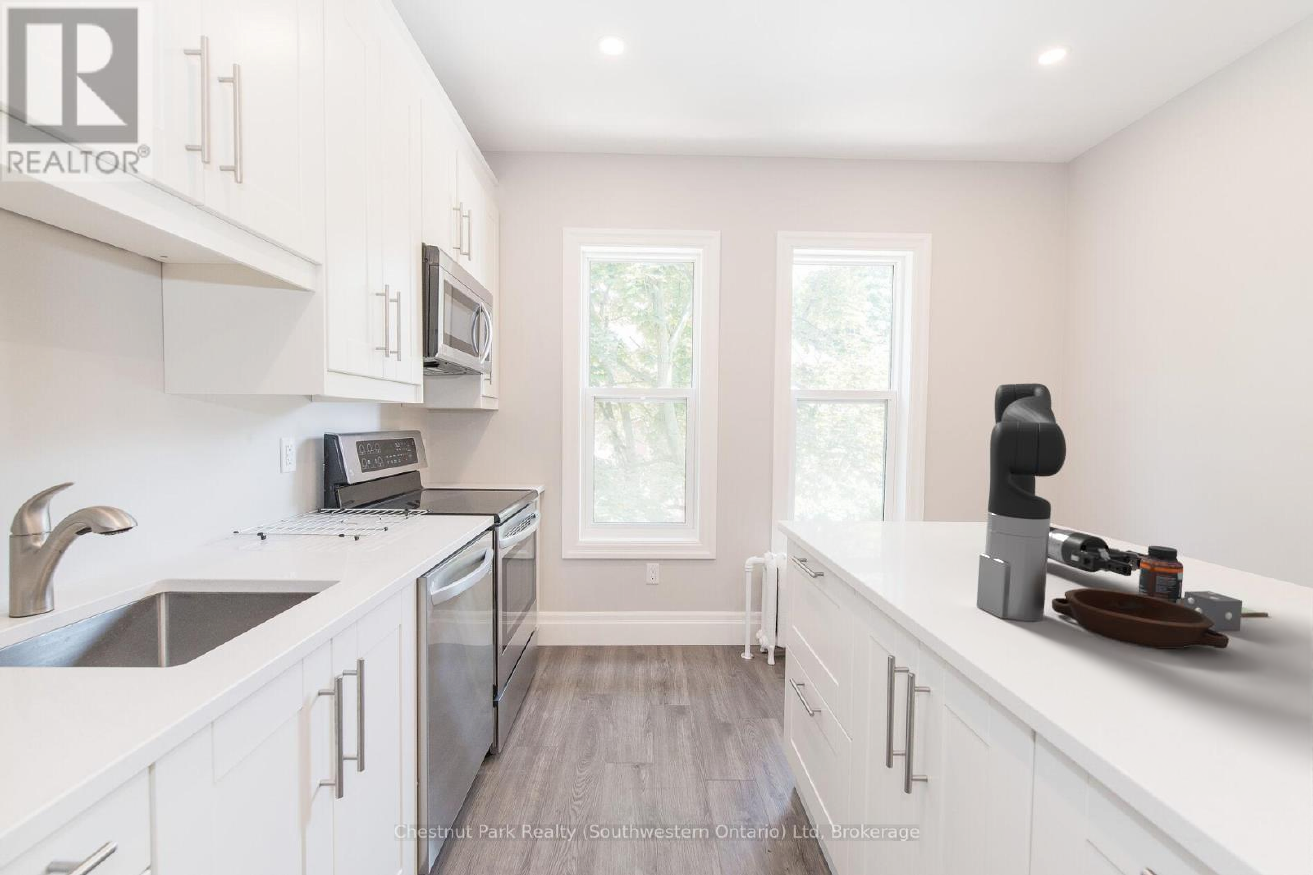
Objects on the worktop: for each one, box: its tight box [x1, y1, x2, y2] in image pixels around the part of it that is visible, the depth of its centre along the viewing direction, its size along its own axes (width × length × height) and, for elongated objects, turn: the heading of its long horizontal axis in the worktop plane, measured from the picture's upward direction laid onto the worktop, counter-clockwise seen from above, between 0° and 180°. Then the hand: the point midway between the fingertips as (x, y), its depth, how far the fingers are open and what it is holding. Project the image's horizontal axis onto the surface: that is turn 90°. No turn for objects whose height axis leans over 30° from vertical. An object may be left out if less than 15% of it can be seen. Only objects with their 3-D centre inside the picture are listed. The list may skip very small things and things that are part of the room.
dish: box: [1051, 587, 1230, 649], centre depth 93 cm, size 18×22×5 cm
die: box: [1183, 590, 1243, 632], centre depth 98 cm, size 5×5×5 cm
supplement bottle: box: [1137, 545, 1184, 605], centre depth 105 cm, size 6×6×11 cm
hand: (1150, 570), depth 107 cm, fingers open, 8 cm apart
